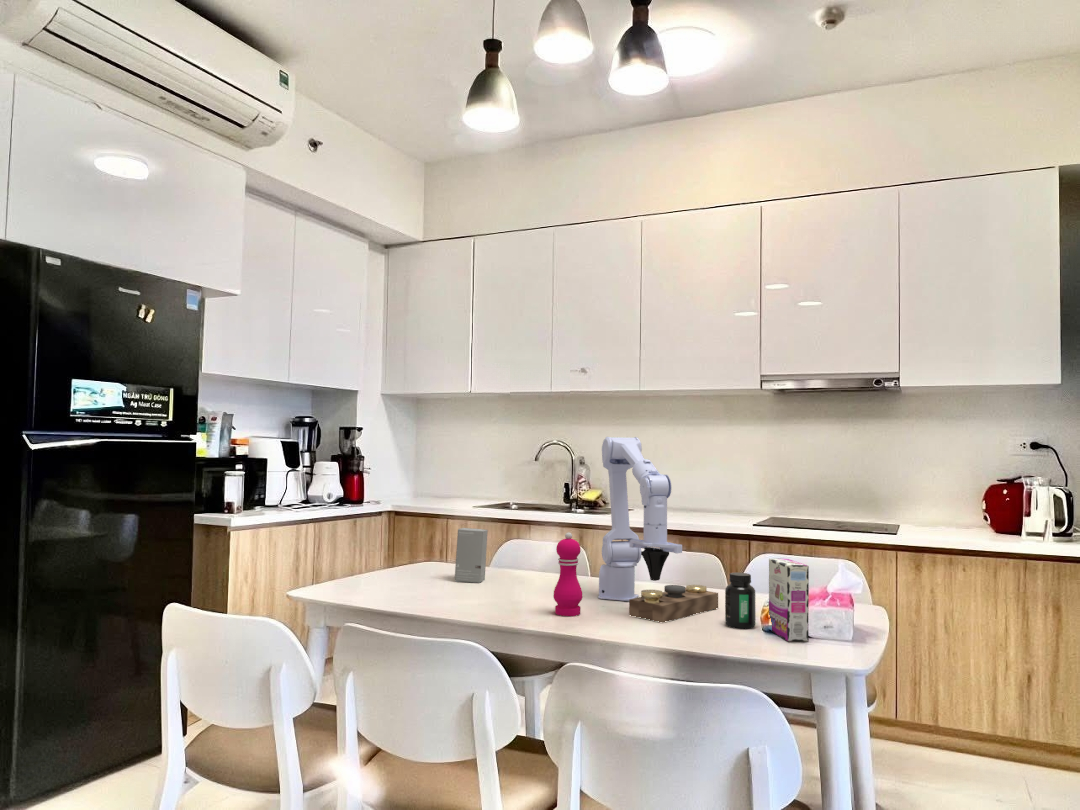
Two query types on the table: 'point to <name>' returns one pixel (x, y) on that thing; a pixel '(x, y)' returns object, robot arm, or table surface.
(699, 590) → the far brass knob
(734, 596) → the supplement bottle
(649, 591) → the near brass knob
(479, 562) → the skincare box
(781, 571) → the candy bar box
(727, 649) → the table surface
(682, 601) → the control panel
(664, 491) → the robot arm
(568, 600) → the pepper mill
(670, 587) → the middle black knob
